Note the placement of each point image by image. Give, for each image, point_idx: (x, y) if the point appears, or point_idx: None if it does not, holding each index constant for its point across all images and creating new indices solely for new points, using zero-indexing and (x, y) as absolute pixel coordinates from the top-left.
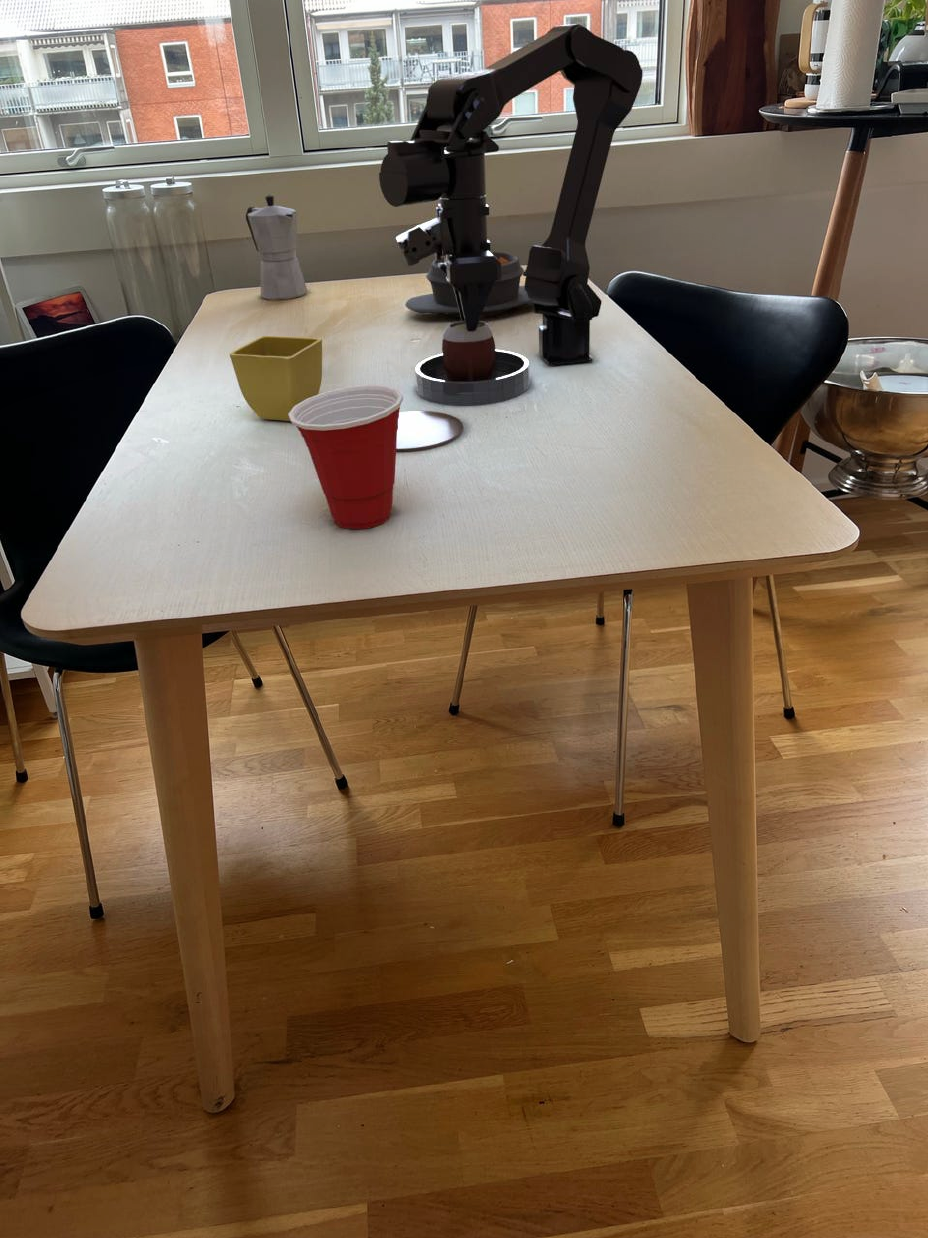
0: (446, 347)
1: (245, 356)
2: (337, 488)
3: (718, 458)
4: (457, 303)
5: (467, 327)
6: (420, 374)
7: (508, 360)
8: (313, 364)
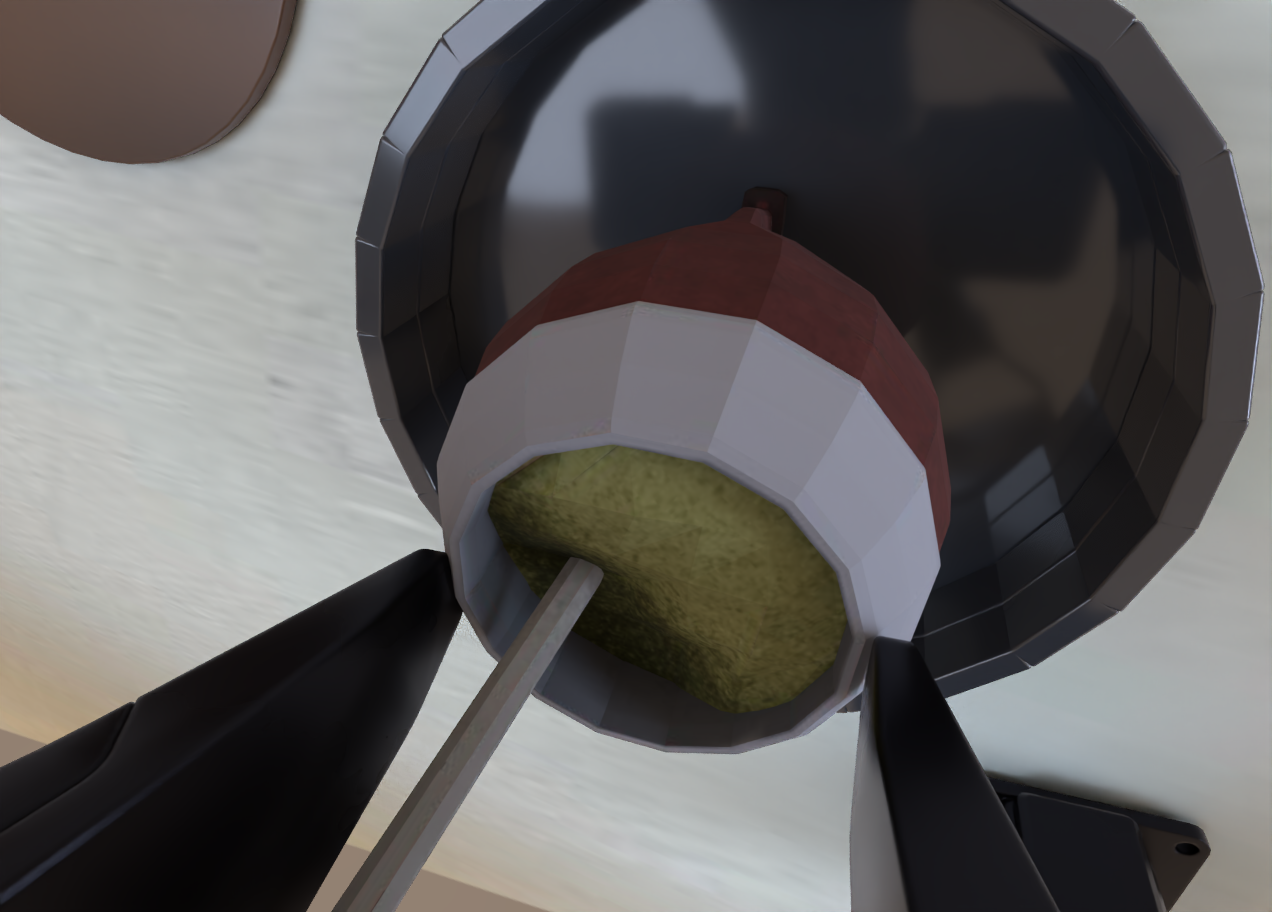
0: (563, 285)
1: None
2: None
3: (67, 697)
4: (952, 807)
5: (388, 566)
6: None
7: (917, 645)
8: None
